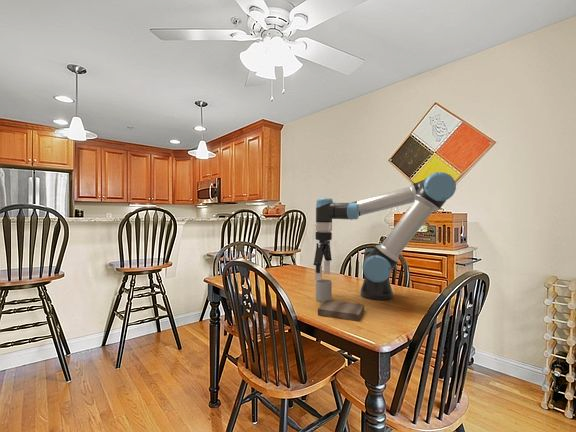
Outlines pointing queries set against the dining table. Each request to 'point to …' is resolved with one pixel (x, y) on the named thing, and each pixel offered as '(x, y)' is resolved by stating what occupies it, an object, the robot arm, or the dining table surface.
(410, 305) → the dining table surface
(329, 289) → the cup
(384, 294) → the robot arm
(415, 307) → the dining table surface
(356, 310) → the board
